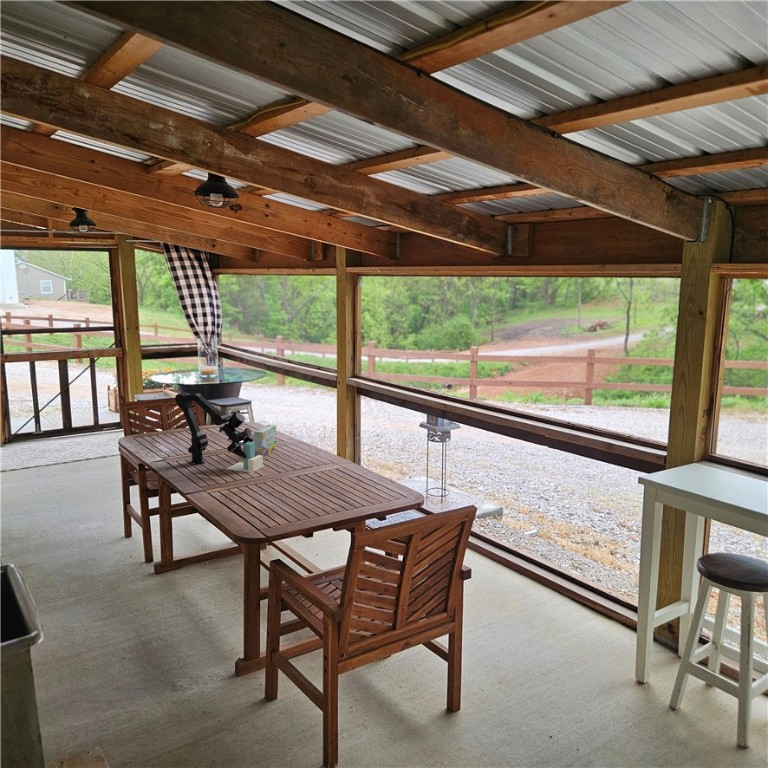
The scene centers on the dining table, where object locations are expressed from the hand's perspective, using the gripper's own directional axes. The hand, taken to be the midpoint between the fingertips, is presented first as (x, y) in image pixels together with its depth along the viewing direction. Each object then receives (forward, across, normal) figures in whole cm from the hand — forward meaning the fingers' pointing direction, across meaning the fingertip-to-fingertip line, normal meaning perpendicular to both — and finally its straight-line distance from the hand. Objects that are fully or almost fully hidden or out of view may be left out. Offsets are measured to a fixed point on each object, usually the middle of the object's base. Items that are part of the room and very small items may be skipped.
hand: (250, 455), depth 333 cm
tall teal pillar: (+4, 0, +5) cm, 7 cm away
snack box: (-1, +32, +12) cm, 35 cm away
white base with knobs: (+3, 0, +8) cm, 8 cm away
